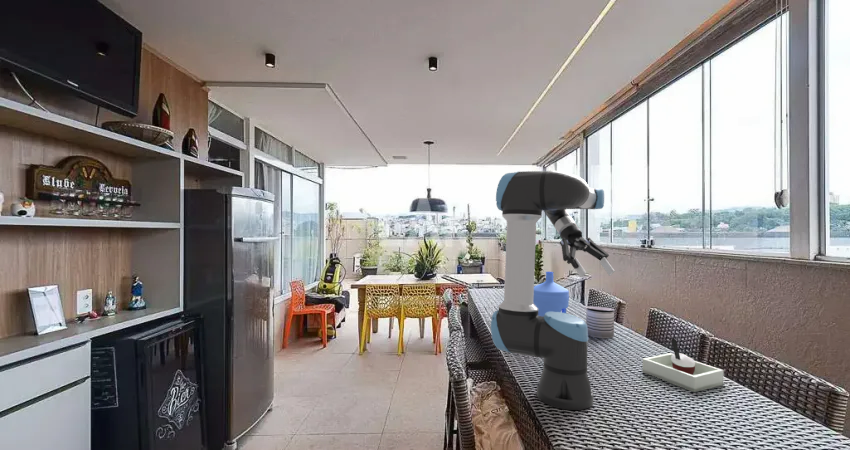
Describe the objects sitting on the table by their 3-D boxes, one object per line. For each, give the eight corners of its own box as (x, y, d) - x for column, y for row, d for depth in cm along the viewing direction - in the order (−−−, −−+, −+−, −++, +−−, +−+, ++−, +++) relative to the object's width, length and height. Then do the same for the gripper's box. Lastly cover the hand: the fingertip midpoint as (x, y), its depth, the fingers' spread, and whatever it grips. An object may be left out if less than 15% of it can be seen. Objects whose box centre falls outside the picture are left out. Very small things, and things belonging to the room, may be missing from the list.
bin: (694, 392, 120) (694, 377, 120) (642, 372, 136) (642, 358, 136) (723, 384, 126) (723, 370, 126) (670, 365, 142) (670, 353, 142)
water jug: (535, 344, 164) (536, 274, 164) (524, 333, 180) (525, 269, 179) (574, 344, 165) (575, 274, 164) (560, 333, 180) (561, 269, 180)
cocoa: (689, 372, 134) (691, 335, 134) (702, 379, 128) (704, 341, 128) (660, 371, 134) (662, 334, 134) (672, 377, 128) (674, 339, 128)
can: (580, 334, 180) (581, 306, 179) (592, 329, 187) (593, 303, 187) (606, 340, 171) (607, 311, 171) (618, 334, 179) (619, 307, 178)
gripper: (587, 236, 167) (617, 278, 154) (538, 237, 157) (565, 282, 143) (597, 224, 162) (629, 266, 149) (547, 223, 152) (576, 268, 138)
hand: (598, 274), depth 146 cm, fingers open, 13 cm apart
